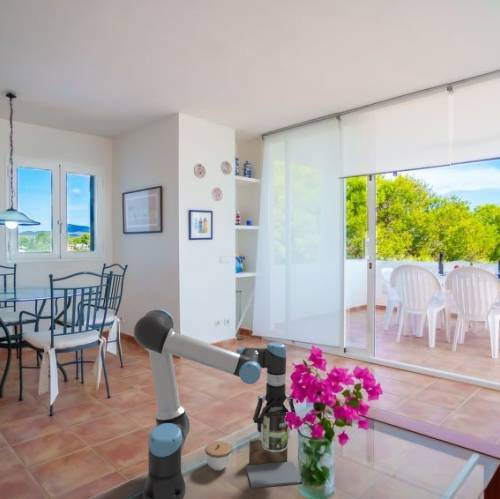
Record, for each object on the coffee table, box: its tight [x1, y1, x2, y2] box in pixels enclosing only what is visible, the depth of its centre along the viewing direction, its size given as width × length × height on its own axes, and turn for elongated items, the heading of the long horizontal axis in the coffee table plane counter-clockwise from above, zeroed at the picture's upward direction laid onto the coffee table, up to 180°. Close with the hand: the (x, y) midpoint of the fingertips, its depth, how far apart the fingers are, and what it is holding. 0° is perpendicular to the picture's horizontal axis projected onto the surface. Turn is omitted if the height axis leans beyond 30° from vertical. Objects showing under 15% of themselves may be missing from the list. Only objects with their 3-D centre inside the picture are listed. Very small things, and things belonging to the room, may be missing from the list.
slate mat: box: [245, 461, 299, 489], centre depth 158 cm, size 20×13×1 cm, turn 101°
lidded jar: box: [204, 440, 233, 472], centre depth 163 cm, size 11×11×9 cm
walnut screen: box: [248, 437, 289, 465], centre depth 166 cm, size 16×2×10 cm, turn 101°
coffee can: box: [261, 406, 289, 452], centre depth 157 cm, size 10×10×14 cm
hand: (274, 438), depth 157 cm, fingers closed on coffee can, 10 cm apart
